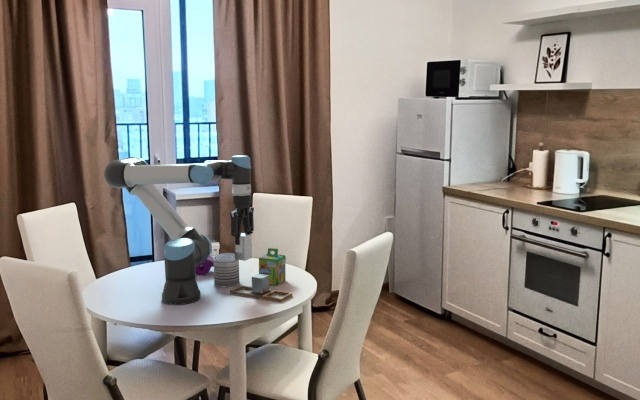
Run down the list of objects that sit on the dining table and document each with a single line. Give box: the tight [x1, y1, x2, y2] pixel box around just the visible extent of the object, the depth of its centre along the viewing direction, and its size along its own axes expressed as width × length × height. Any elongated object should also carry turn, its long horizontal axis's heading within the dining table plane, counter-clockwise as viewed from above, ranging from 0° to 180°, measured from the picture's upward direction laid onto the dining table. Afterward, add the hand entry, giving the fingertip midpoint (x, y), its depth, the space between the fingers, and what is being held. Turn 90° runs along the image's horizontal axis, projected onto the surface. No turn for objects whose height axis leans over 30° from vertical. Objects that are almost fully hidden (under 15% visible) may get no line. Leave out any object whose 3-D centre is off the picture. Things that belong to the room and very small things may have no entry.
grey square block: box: [233, 232, 253, 262], centre depth 249 cm, size 5×5×10 cm
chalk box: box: [258, 247, 287, 287], centre depth 265 cm, size 9×9×15 cm
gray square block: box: [251, 273, 270, 296], centre depth 248 cm, size 5×5×8 cm
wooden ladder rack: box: [229, 284, 293, 303], centre depth 248 cm, size 9×25×1 cm, turn 62°
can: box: [212, 252, 240, 288], centre depth 265 cm, size 11×11×12 cm
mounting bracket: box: [195, 255, 214, 277], centre depth 282 cm, size 9×8×18 cm
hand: (243, 250), depth 250 cm, fingers closed on grey square block, 5 cm apart
